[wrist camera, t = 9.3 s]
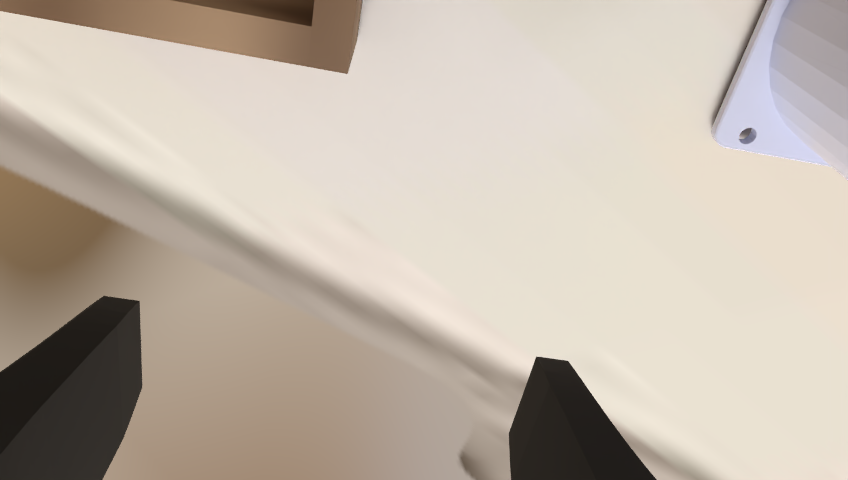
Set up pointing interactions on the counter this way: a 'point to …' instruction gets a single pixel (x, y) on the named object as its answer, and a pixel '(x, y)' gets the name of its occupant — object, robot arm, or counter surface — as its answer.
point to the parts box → (222, 25)
